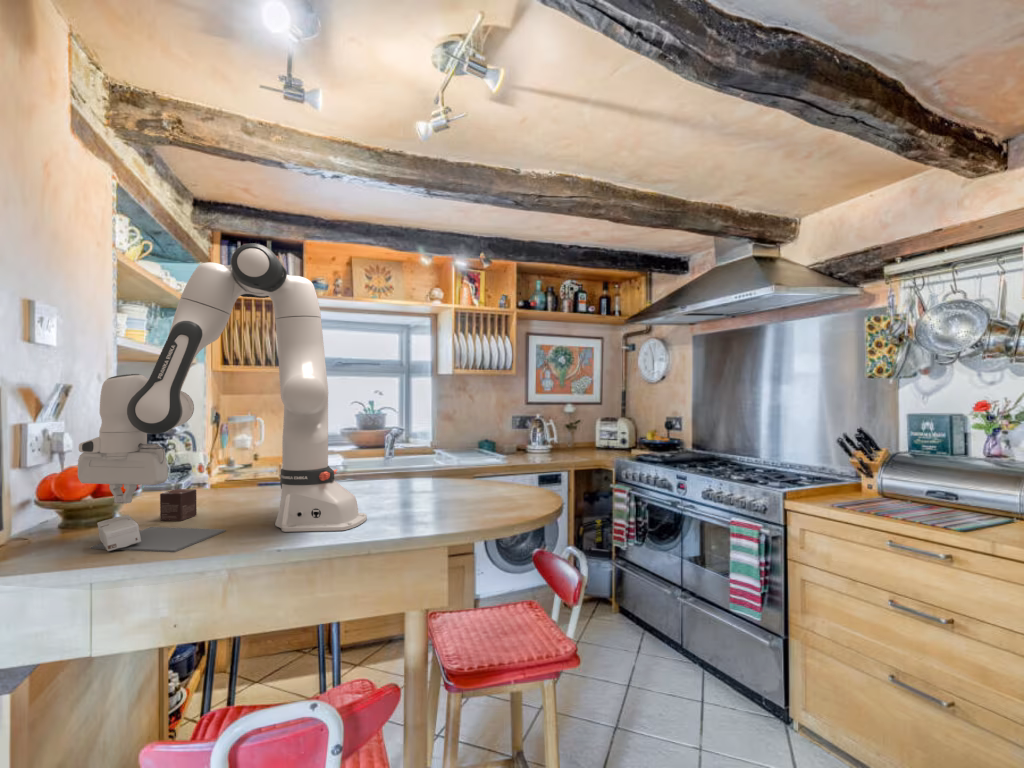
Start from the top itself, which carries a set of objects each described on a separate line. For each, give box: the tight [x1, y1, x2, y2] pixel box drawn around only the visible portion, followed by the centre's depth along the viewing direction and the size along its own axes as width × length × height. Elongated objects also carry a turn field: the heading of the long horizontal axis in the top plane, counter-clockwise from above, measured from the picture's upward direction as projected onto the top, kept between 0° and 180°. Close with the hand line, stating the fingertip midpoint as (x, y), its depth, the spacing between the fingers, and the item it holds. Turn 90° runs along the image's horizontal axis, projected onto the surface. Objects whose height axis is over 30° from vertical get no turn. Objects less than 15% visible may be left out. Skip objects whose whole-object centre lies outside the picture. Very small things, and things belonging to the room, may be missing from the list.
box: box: [159, 488, 198, 522], centre depth 136 cm, size 6×6×7 cm
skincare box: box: [96, 514, 141, 552], centre depth 113 cm, size 6×4×12 cm
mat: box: [90, 526, 227, 553], centre depth 117 cm, size 20×16×1 cm
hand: (123, 503), depth 118 cm, fingers closed
